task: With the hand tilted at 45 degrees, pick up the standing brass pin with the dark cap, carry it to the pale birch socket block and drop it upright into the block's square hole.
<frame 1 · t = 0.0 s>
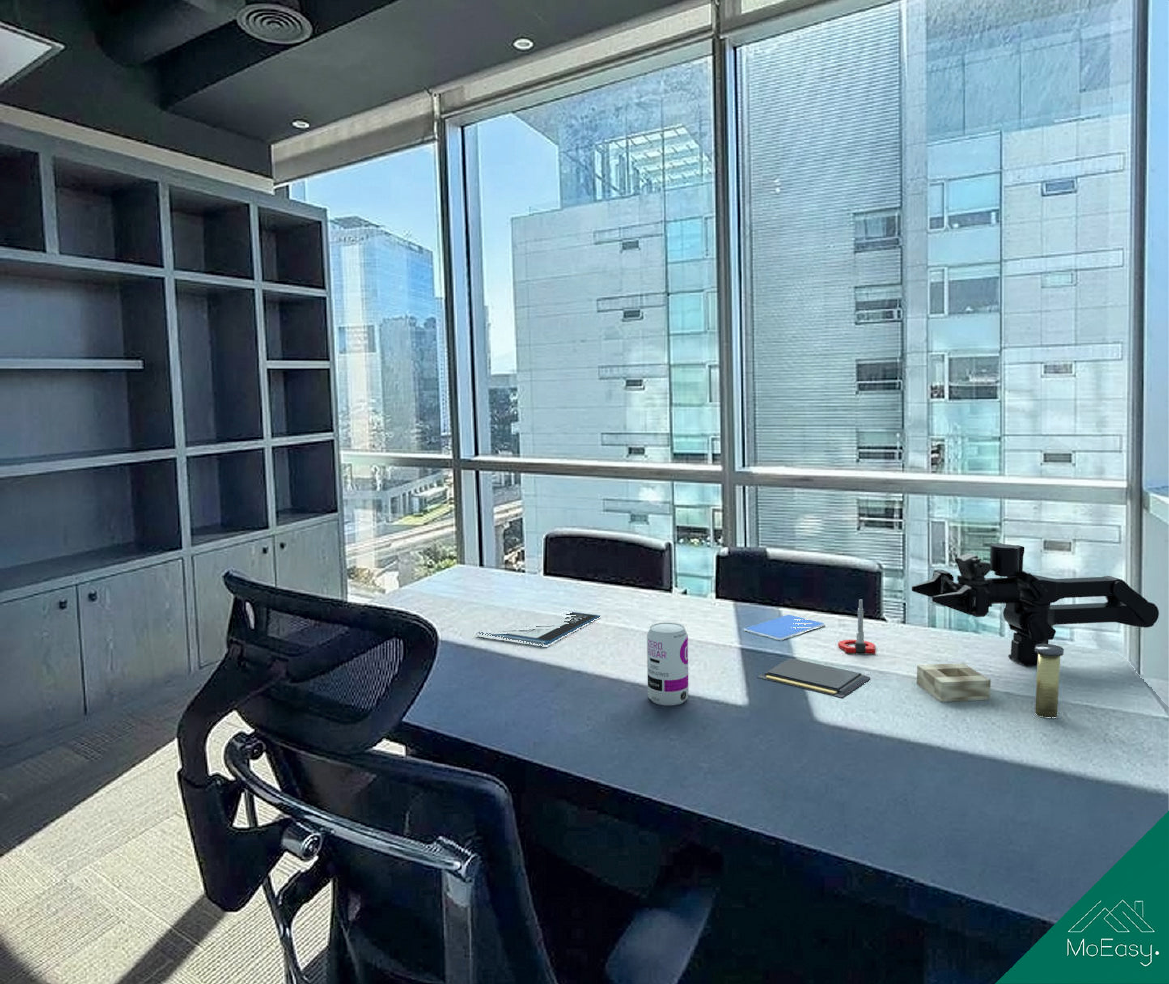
hand: (921, 593, 173), 17 cm above the table, tool horizontal, fingers open, 9 cm apart
socket block: (952, 691, 160), on the table
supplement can: (668, 699, 160), on the table
tablet computer: (784, 631, 206), on the table
sketchbook: (539, 629, 212), on the table
brass pin: (1046, 715, 148), on the table
dark gray book: (813, 681, 170), on the table
tow hook: (856, 649, 189), on the table
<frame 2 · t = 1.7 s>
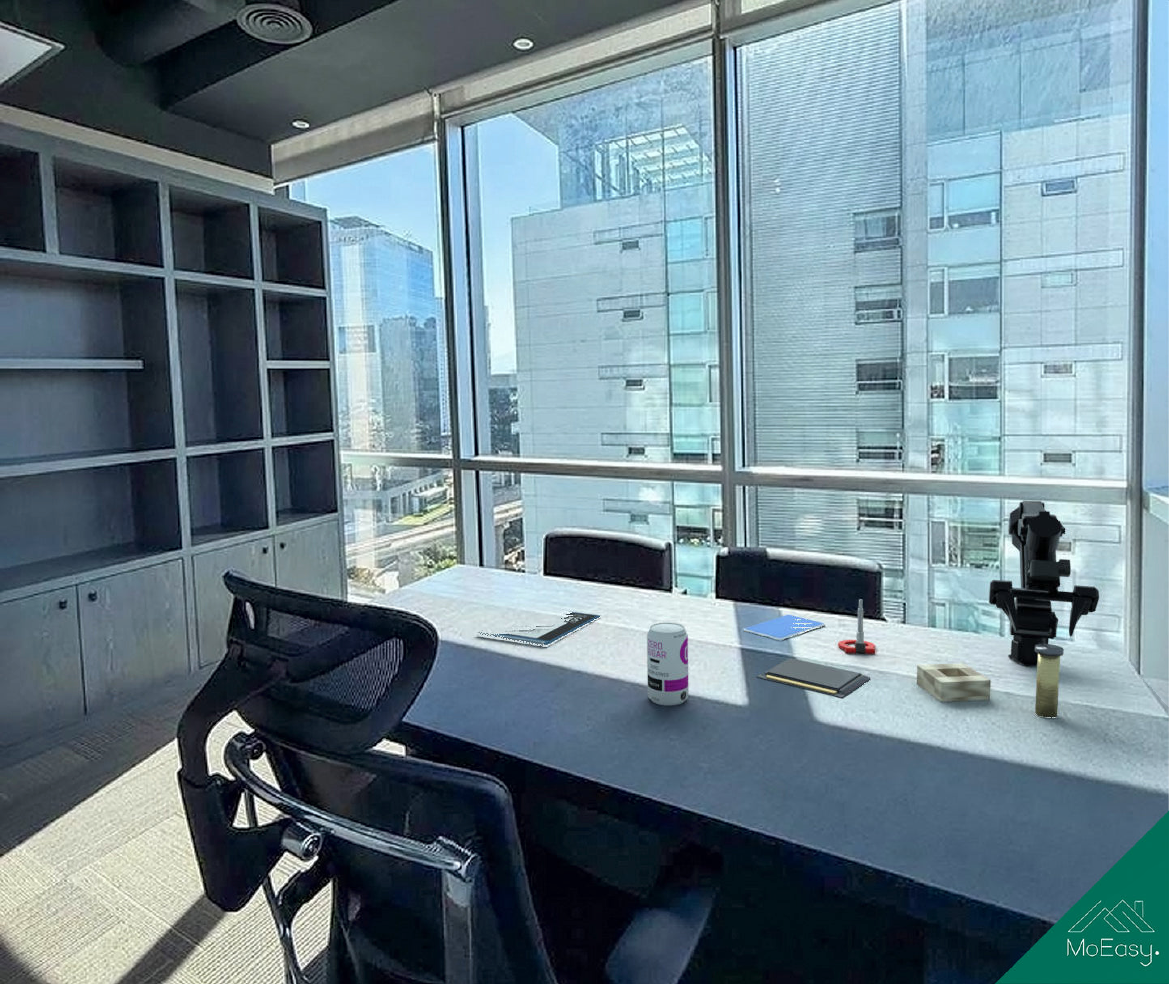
hand: (1043, 632, 153), 14 cm above the table, tool tilted 45°, fingers open, 9 cm apart
nothing on the table moved.
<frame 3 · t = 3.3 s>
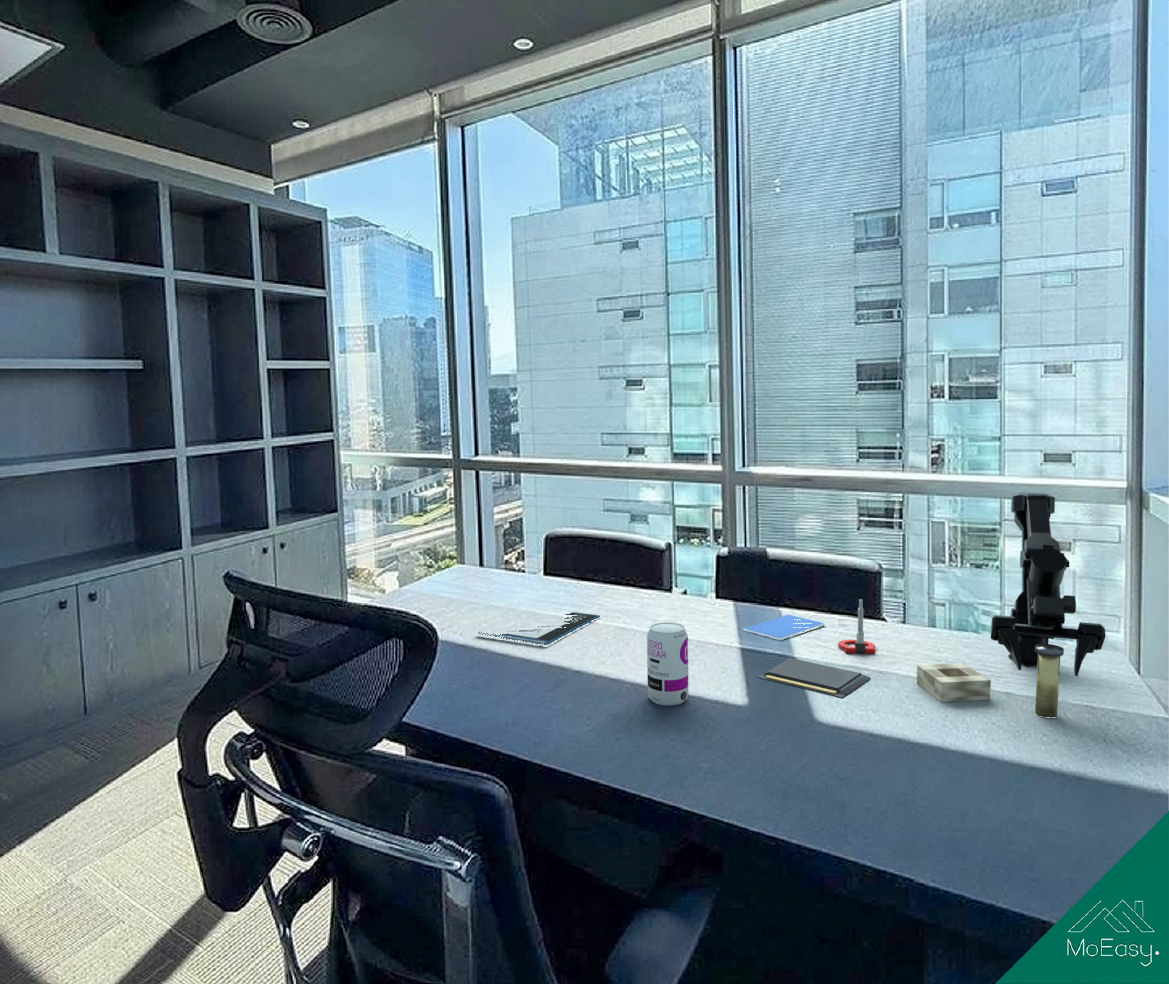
hand: (1047, 672, 147), 8 cm above the table, tool tilted 45°, fingers open, 9 cm apart
nothing on the table moved.
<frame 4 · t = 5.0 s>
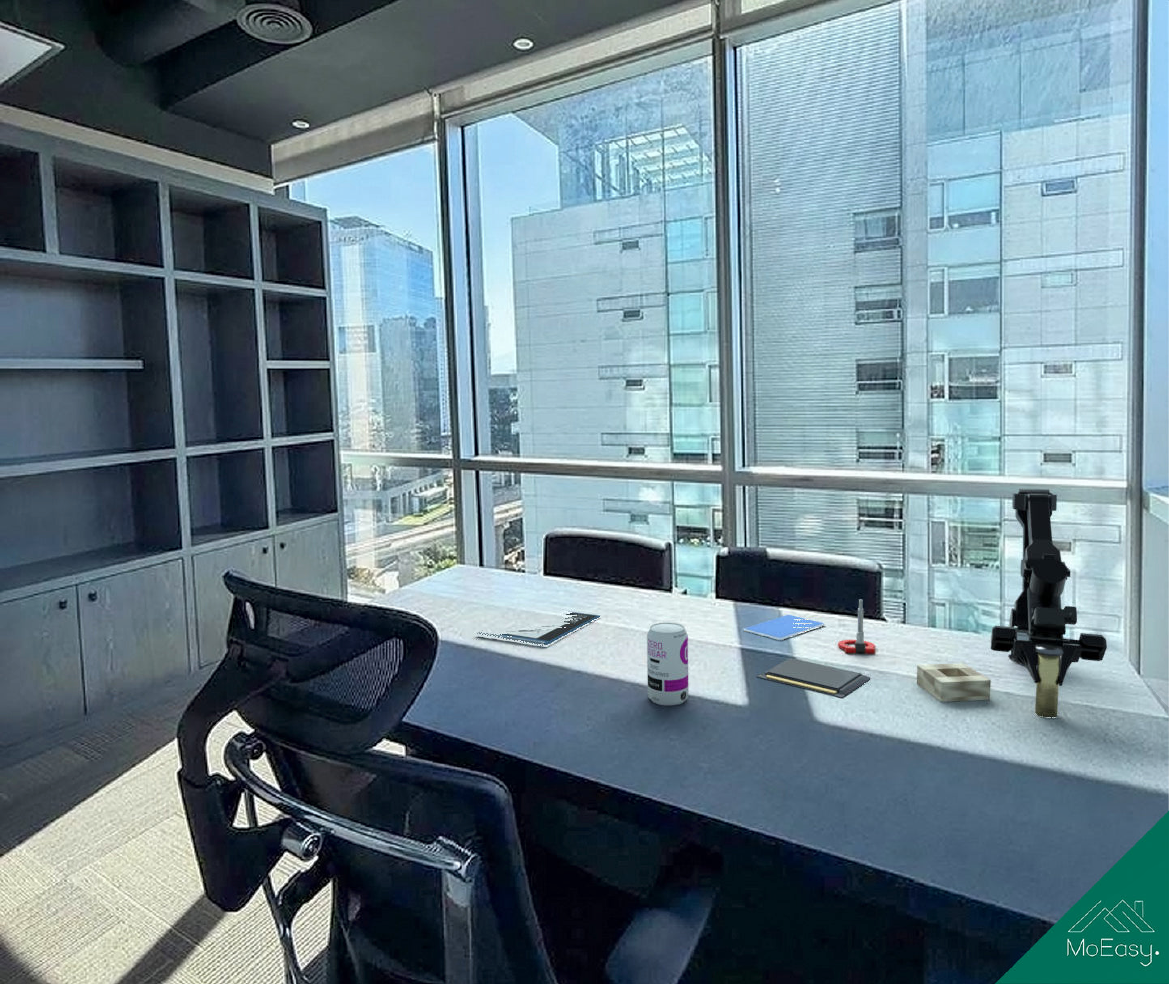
hand: (1048, 683, 146), 7 cm above the table, tool tilted 45°, fingers closed on brass pin, 4 cm apart
brass pin: (1046, 715, 148), on the table, touching gripper
everything else where it was.
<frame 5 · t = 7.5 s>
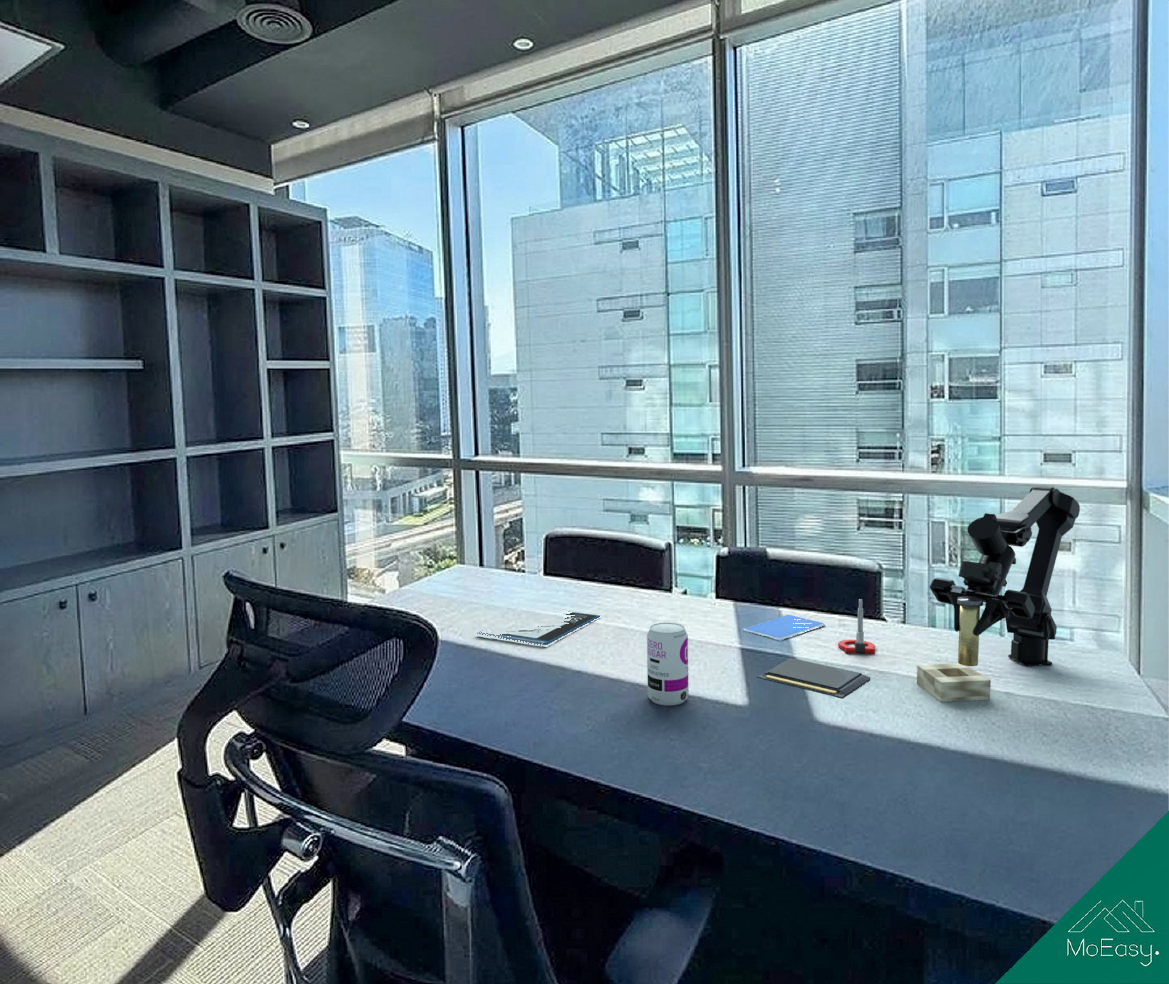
hand: (965, 632, 155), 13 cm above the table, tool tilted 45°, fingers closed on brass pin, 4 cm apart
brass pin: (967, 663, 157), point 7 cm above the table, touching gripper
everything else where it was.
when the fingers open (8 cm above the table, at t = 9.9 s): brass pin stays where it is, resting on socket block.
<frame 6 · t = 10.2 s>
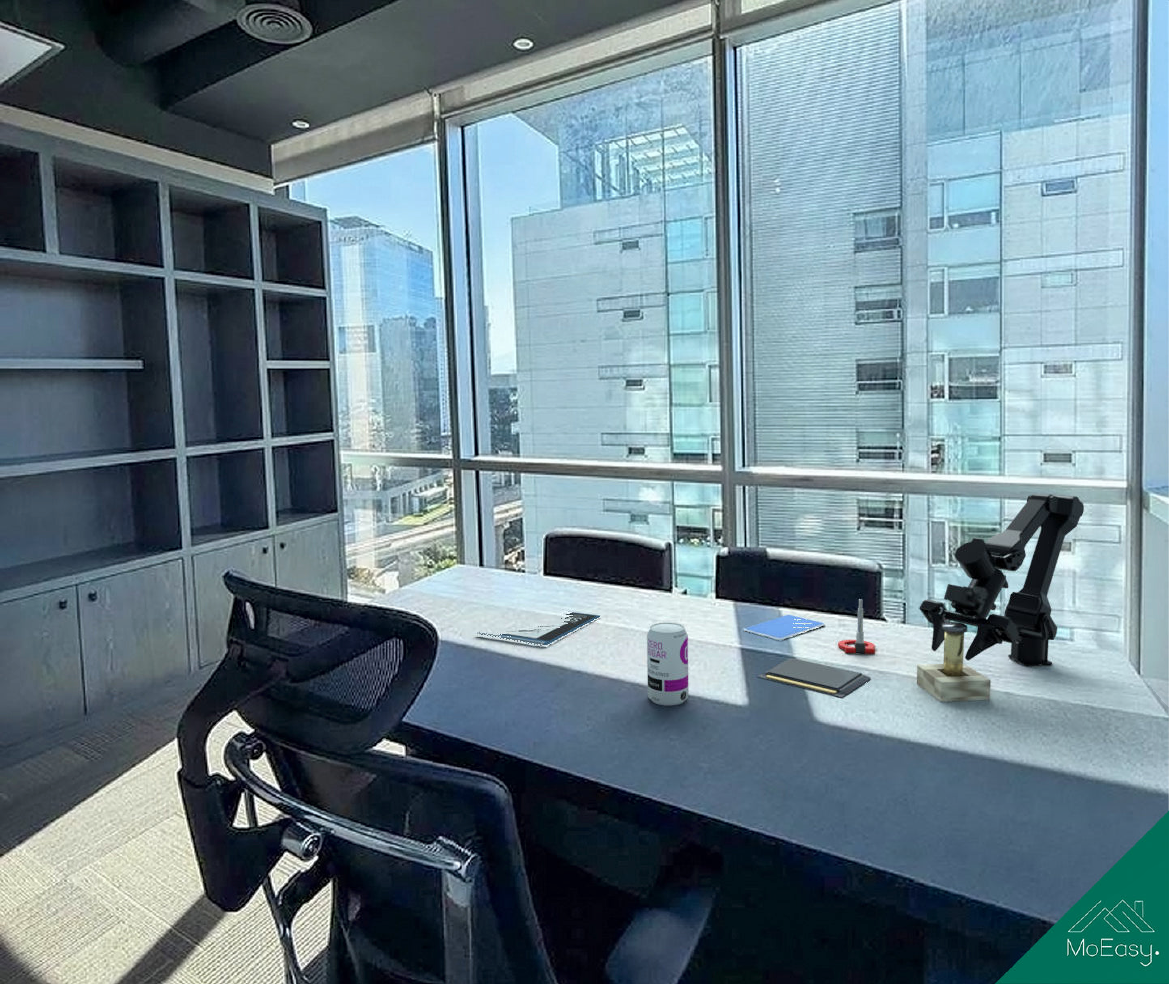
hand: (949, 654, 159), 8 cm above the table, tool tilted 45°, fingers open, 7 cm apart
brass pin: (952, 687, 160), point 1 cm above the table, touching socket block
everything else where it was.
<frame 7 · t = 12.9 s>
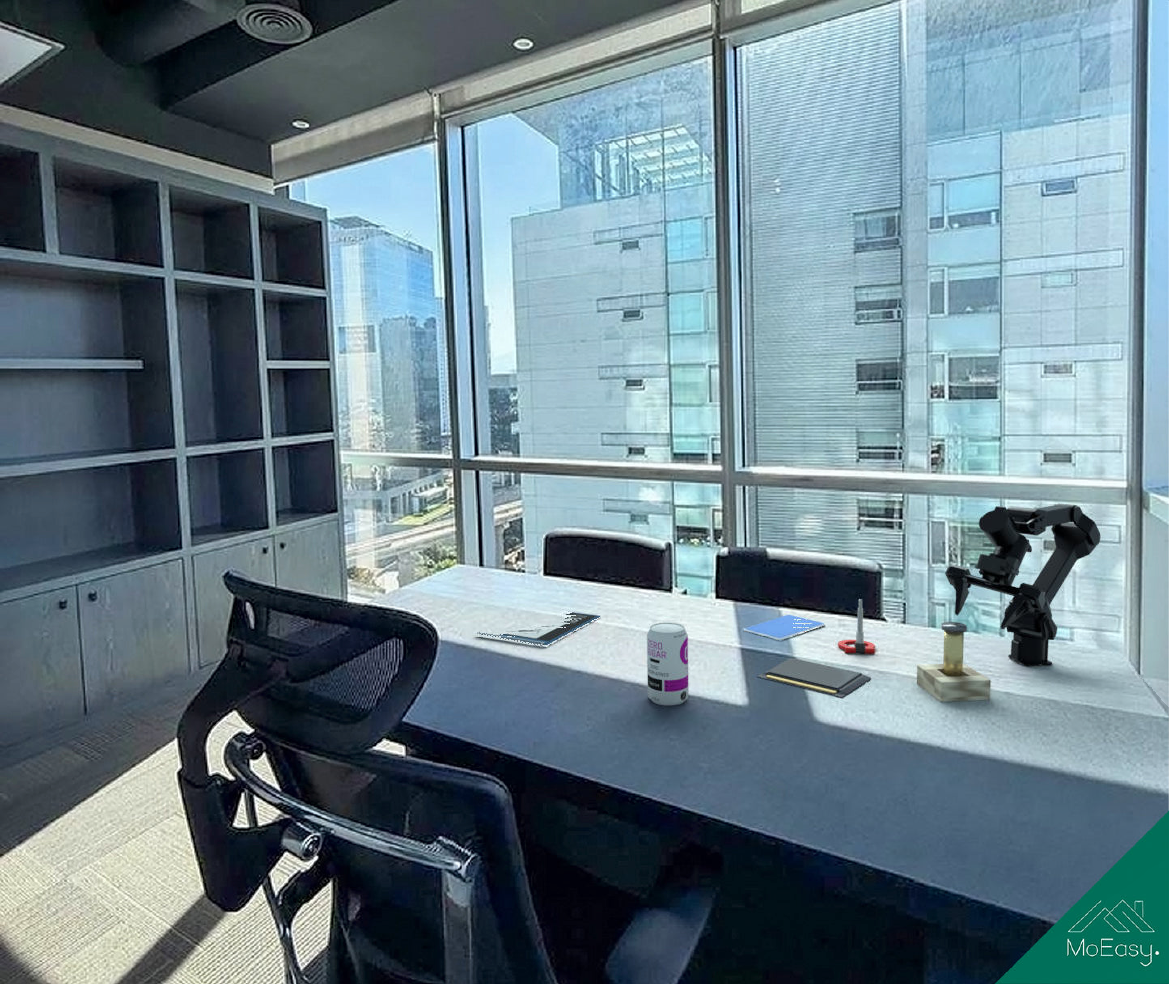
hand: (978, 621, 163), 13 cm above the table, tool tilted 40°, fingers open, 9 cm apart
nothing on the table moved.
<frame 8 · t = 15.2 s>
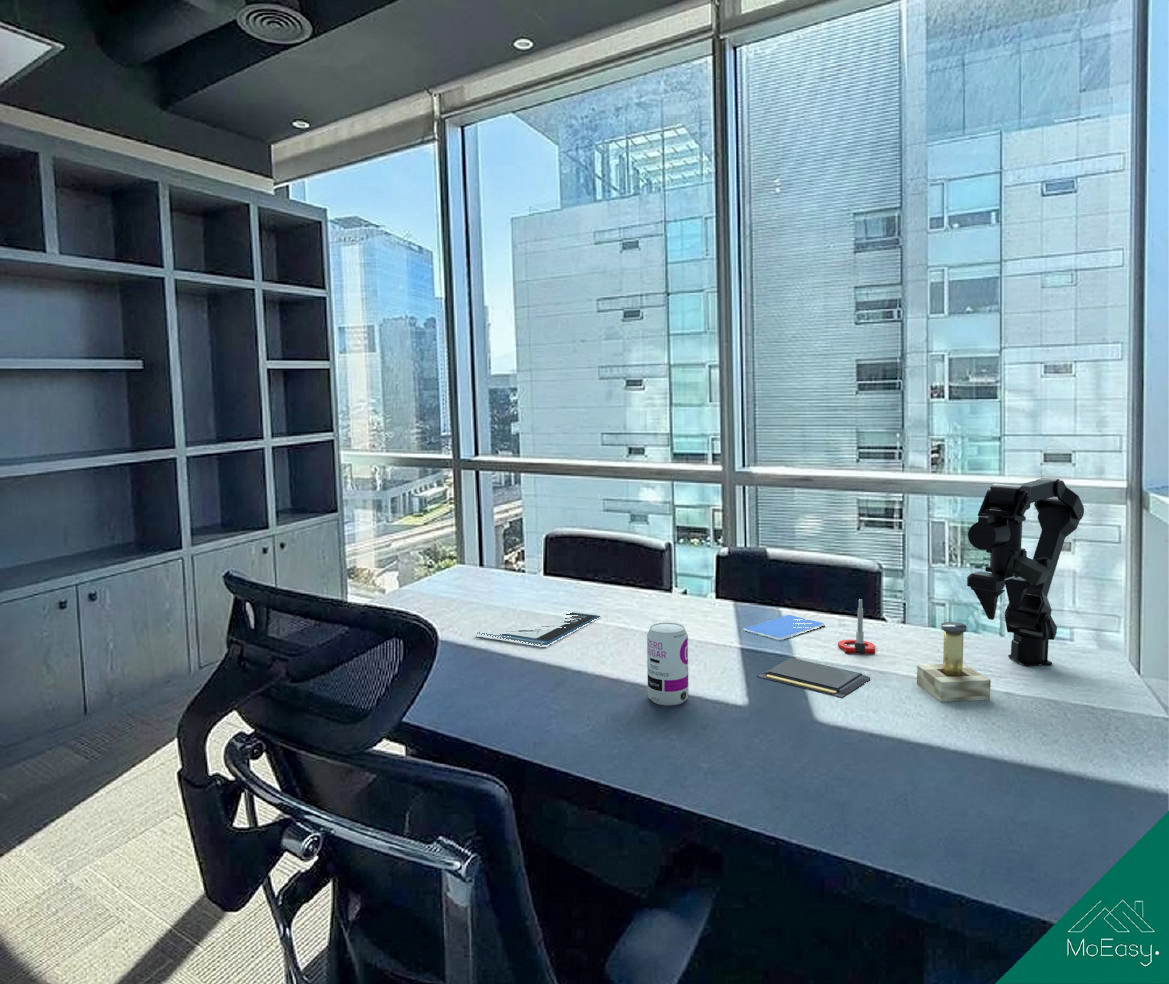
hand: (1002, 615, 168), 13 cm above the table, tool pointing down, fingers open, 9 cm apart
nothing on the table moved.
at the end: brass pin 0.0 cm off-centre on the socket block, point 0.8 cm above the socket block's base; brass pin tilted 1°; the gripper is holding nothing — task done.
